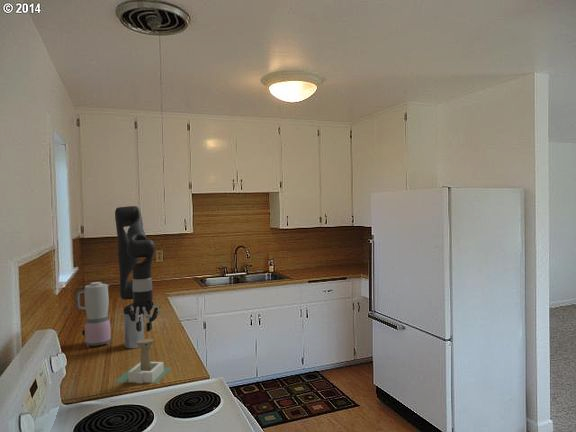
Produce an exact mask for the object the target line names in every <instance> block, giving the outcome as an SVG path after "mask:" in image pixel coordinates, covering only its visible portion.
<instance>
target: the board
mask: <svg viewBox="0 0 576 432" xmlns="http://www.w3.org/2000/svg"><path fill="white" fill-rule="evenodd" d="M134 367H135V366H132V367H131V368H130V369H128V370H127V371H126V372H125V373H123V374H122V375H120V376H119V377H118V378H117V379H115V381H114V382H113V383H130V384H131V383H132V384H133V383H134V384H137V383H136V382H129V380H128V372H129V371H130V370H131V369H133V368H134ZM172 369H173V367H172V366H169V367H167V366H164V372H163V373H162V374H161V375H160V376H159V377H158V378H157V379H156V380H155V381H154V382H153V383H152V384H158V383H159V382H160V380H162V379H163V378H164V377H165V376H166V375H167V374H168V373H169V372H170V371H171V370H172ZM142 384H151V383H150V382H143V383H142Z"/></svg>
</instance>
